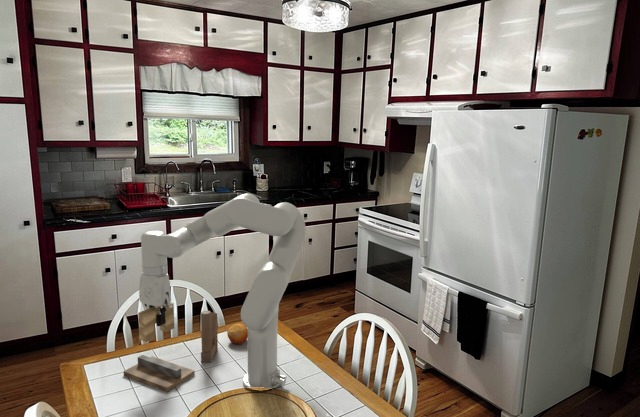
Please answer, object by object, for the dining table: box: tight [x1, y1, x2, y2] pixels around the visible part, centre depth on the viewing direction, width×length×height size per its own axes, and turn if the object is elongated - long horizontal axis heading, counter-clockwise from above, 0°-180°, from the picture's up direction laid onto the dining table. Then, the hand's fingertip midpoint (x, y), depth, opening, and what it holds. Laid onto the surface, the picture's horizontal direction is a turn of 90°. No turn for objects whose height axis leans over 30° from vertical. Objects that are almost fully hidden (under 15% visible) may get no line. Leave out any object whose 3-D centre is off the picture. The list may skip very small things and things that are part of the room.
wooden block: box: [200, 310, 219, 363], centre depth 167 cm, size 4×11×18 cm, turn 0°
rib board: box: [123, 354, 196, 393], centre depth 154 cm, size 20×12×4 cm, turn 62°
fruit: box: [226, 323, 248, 345], centre depth 179 cm, size 8×8×8 cm
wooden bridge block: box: [137, 301, 175, 343], centre depth 151 cm, size 3×12×9 cm, turn 152°
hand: (156, 323), depth 151 cm, fingers closed on wooden bridge block, 3 cm apart
